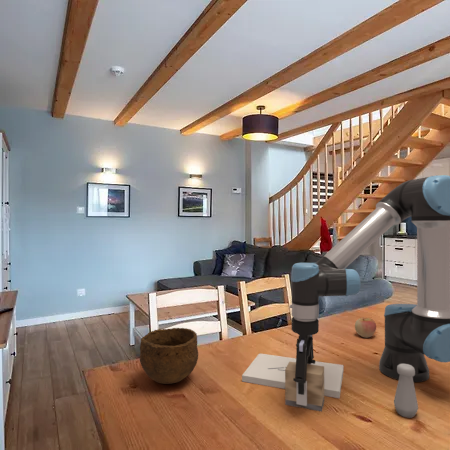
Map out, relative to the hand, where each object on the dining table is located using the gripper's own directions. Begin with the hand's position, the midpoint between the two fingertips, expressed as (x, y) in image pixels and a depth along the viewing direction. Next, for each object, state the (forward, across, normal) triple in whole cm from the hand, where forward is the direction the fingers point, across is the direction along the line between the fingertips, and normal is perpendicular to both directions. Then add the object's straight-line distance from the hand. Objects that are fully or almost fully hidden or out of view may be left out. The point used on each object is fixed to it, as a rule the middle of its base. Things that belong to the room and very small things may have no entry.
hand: (305, 394), depth 100 cm
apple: (+3, -67, +16) cm, 69 cm away
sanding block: (+2, 0, 0) cm, 2 cm away
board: (+2, -16, -6) cm, 17 cm away
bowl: (+3, +2, -43) cm, 43 cm away
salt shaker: (+2, -4, +26) cm, 26 cm away
